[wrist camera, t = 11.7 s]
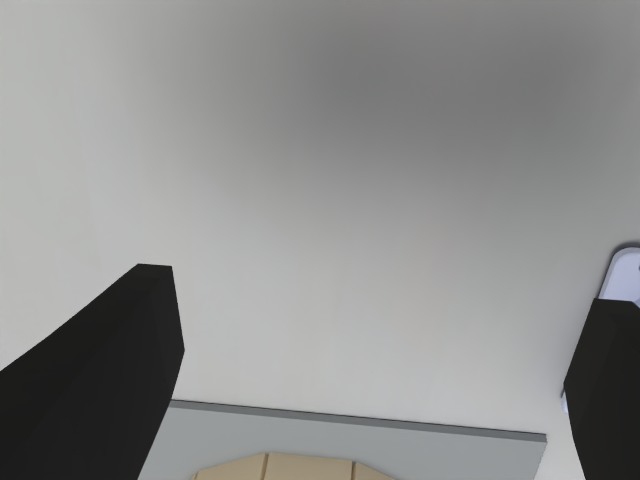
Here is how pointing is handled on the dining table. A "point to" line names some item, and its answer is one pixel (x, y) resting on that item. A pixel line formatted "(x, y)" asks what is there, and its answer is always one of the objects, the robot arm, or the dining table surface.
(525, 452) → the bead board
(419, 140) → the dining table surface
